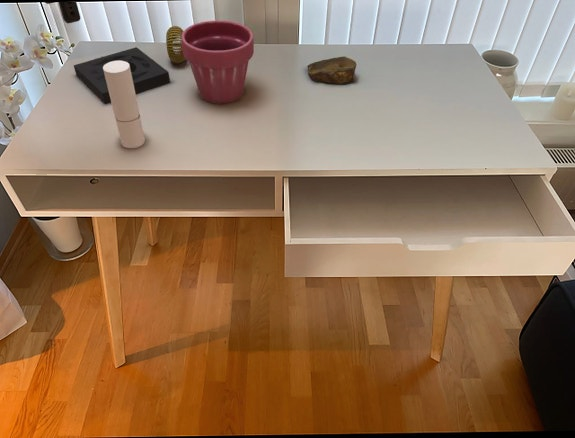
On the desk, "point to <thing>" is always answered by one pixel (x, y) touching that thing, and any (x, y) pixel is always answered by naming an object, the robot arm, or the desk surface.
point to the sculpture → (174, 44)
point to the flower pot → (218, 58)
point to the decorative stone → (333, 70)
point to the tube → (124, 103)
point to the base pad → (141, 67)
